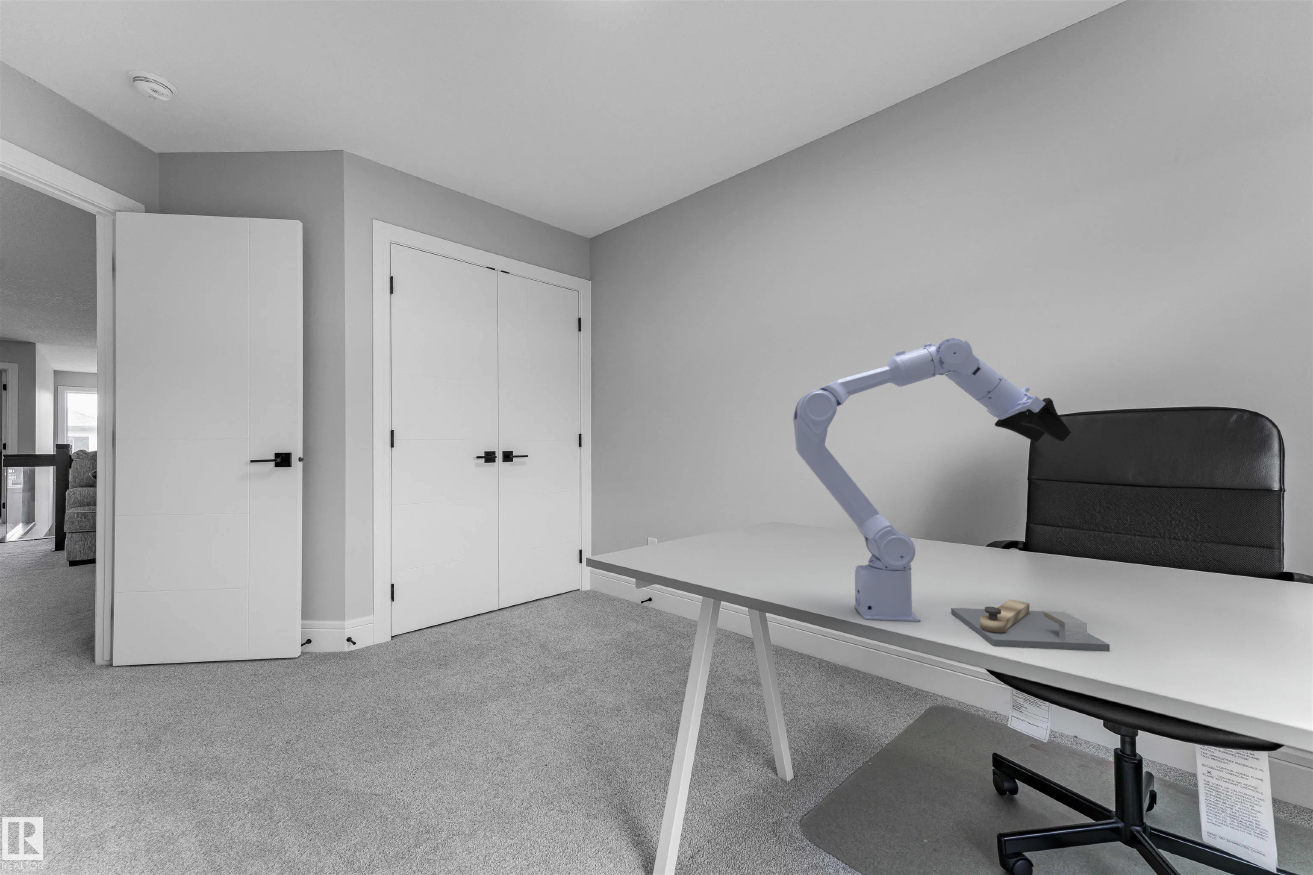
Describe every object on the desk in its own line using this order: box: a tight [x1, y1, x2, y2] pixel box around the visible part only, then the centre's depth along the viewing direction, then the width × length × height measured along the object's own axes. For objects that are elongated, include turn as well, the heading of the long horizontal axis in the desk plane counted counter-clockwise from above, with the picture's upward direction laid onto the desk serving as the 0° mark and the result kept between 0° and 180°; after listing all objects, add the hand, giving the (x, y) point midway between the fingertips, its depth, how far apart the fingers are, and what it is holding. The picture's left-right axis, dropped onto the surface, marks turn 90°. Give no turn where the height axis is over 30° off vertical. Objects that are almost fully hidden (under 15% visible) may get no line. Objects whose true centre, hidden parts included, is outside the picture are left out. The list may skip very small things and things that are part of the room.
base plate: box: [950, 607, 1111, 652], centre depth 88 cm, size 16×16×1 cm
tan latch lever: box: [980, 599, 1030, 633], centre depth 90 cm, size 16×4×3 cm, turn 132°
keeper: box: [1043, 610, 1088, 643], centre depth 82 cm, size 3×6×3 cm, turn 172°
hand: (1052, 437), depth 94 cm, fingers open, 7 cm apart
